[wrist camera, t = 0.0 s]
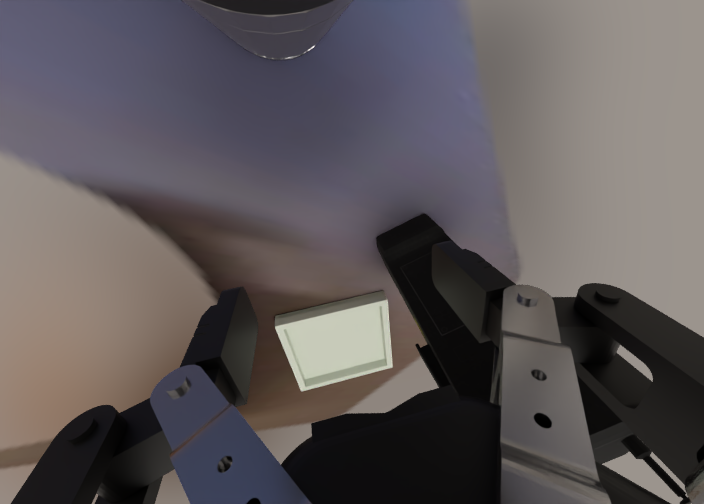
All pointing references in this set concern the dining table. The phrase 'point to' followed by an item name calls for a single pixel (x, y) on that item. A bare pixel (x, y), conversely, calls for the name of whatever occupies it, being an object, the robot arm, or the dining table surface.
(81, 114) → the dining table surface
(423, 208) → the dining table surface
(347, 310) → the sage tray
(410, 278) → the portable radio
